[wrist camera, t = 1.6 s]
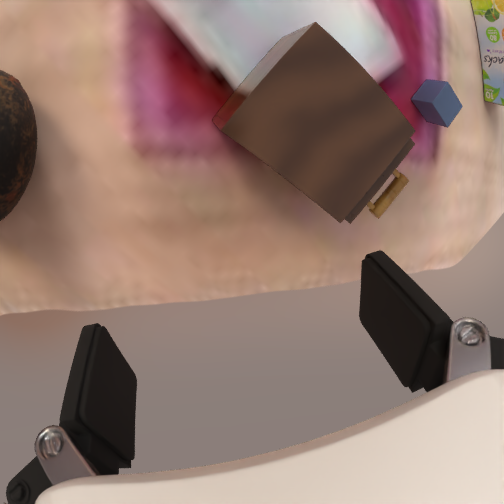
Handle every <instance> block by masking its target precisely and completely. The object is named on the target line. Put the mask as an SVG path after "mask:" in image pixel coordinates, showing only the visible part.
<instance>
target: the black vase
mask: <svg viewBox="0 0 504 504" xmlns="http://www.w3.org/2000/svg"><path fill="white" fill-rule="evenodd" d="M36 149H37V127H36V120H35V115H34V111H33V108H32V105H31V102H30V100H29V98H28V95H27V94H26V92H25V90H24V89H23V88H22V86H21V84H20V82H19V80H18V79H16V78H14V77H13V76H12V75H9V74H7V73H6V72H4V71H2V70H0V221H1V220H2V219H3V218H5V217H6V216H7V215H8V214H9V213H10V212H11V211H12V209H13V208H14V207H15V206H16V204H17V203H18V201H19V200H20V198H21V196H22V195H23V193H24V191H25V189H26V187H27V185H28V182H29V180H30V177H31V174H32V171H33V167H34V162H35V157H36Z"/></svg>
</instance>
